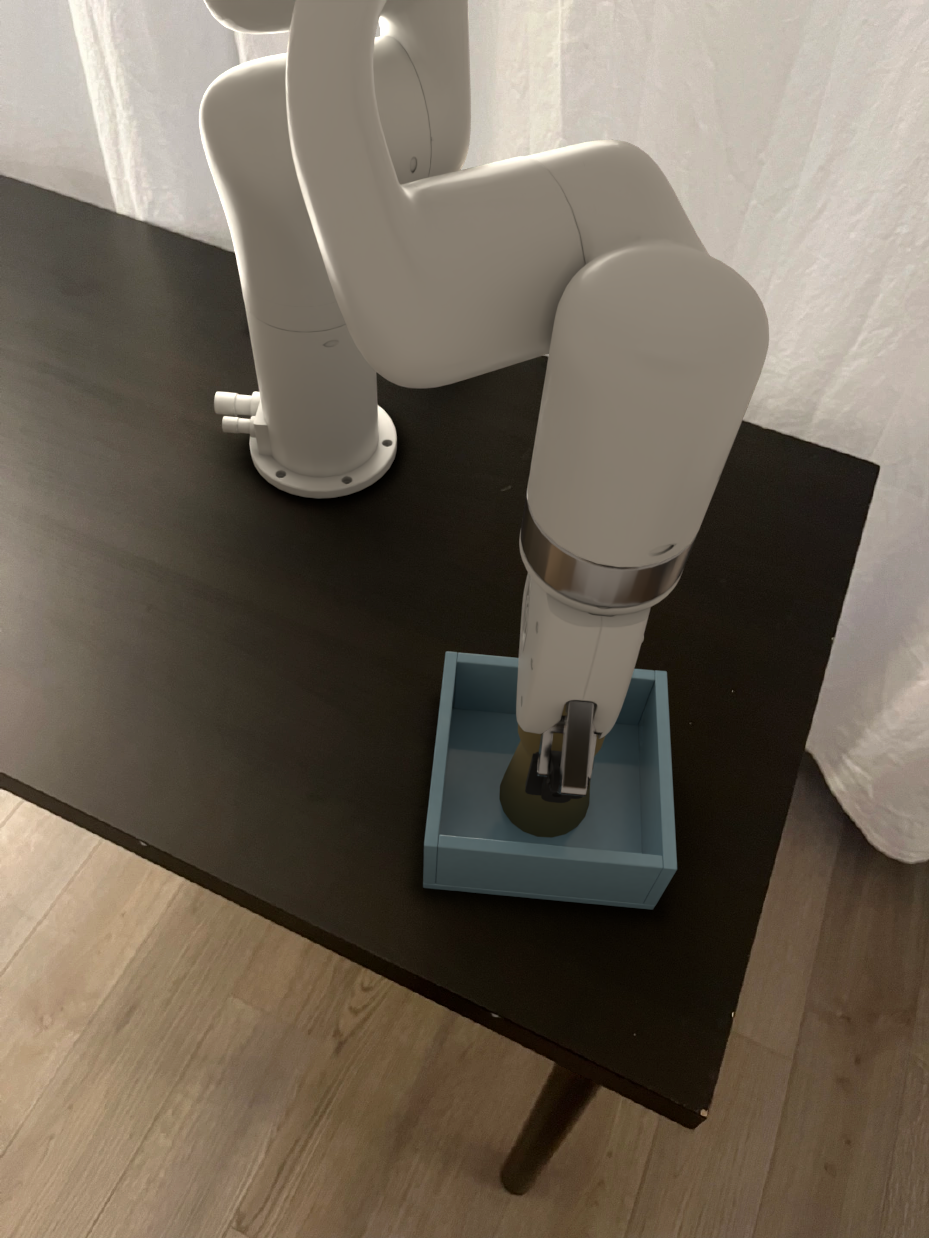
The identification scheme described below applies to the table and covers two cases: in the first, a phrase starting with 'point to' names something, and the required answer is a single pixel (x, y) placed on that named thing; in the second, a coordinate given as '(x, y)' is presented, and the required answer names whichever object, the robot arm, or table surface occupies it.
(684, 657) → the table surface
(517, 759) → the tan pawn
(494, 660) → the blue open box
